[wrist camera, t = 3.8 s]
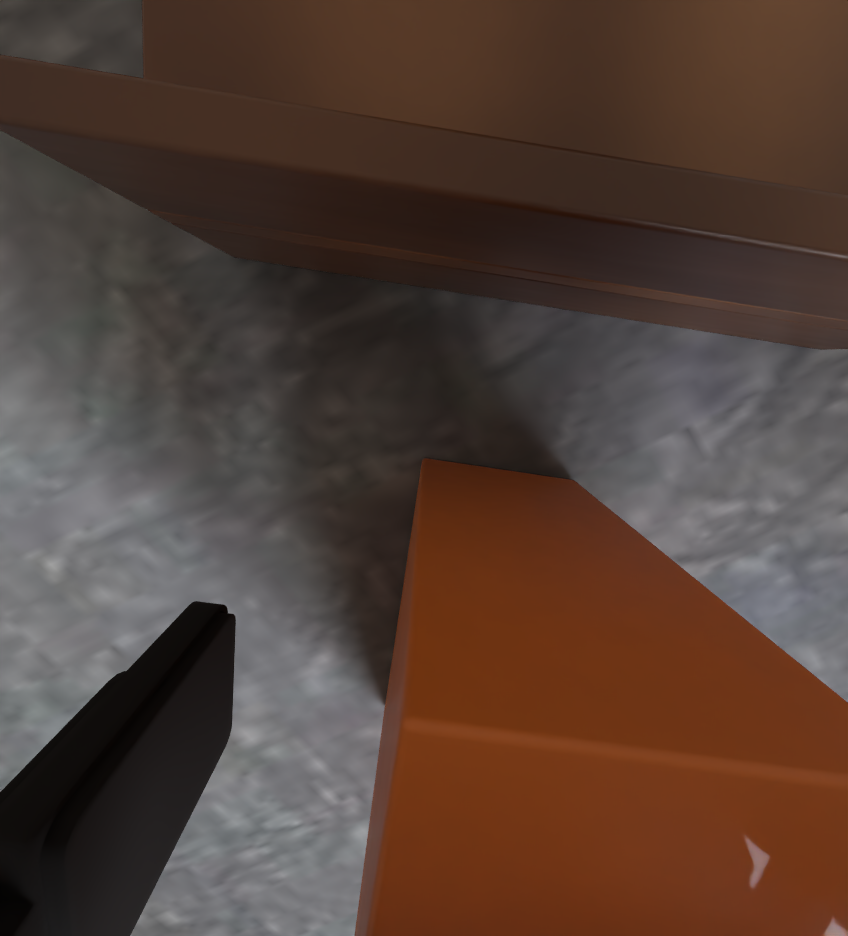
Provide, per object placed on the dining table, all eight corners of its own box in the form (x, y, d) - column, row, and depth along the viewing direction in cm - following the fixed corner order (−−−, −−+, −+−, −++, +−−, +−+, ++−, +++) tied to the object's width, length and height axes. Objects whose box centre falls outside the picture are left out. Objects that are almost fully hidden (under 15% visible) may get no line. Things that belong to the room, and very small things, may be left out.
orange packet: (575, 479, 11) (974, 799, 3) (513, 726, 13) (648, 1313, 5) (422, 456, 10) (401, 723, 3) (384, 709, 12) (308, 1279, 5)
